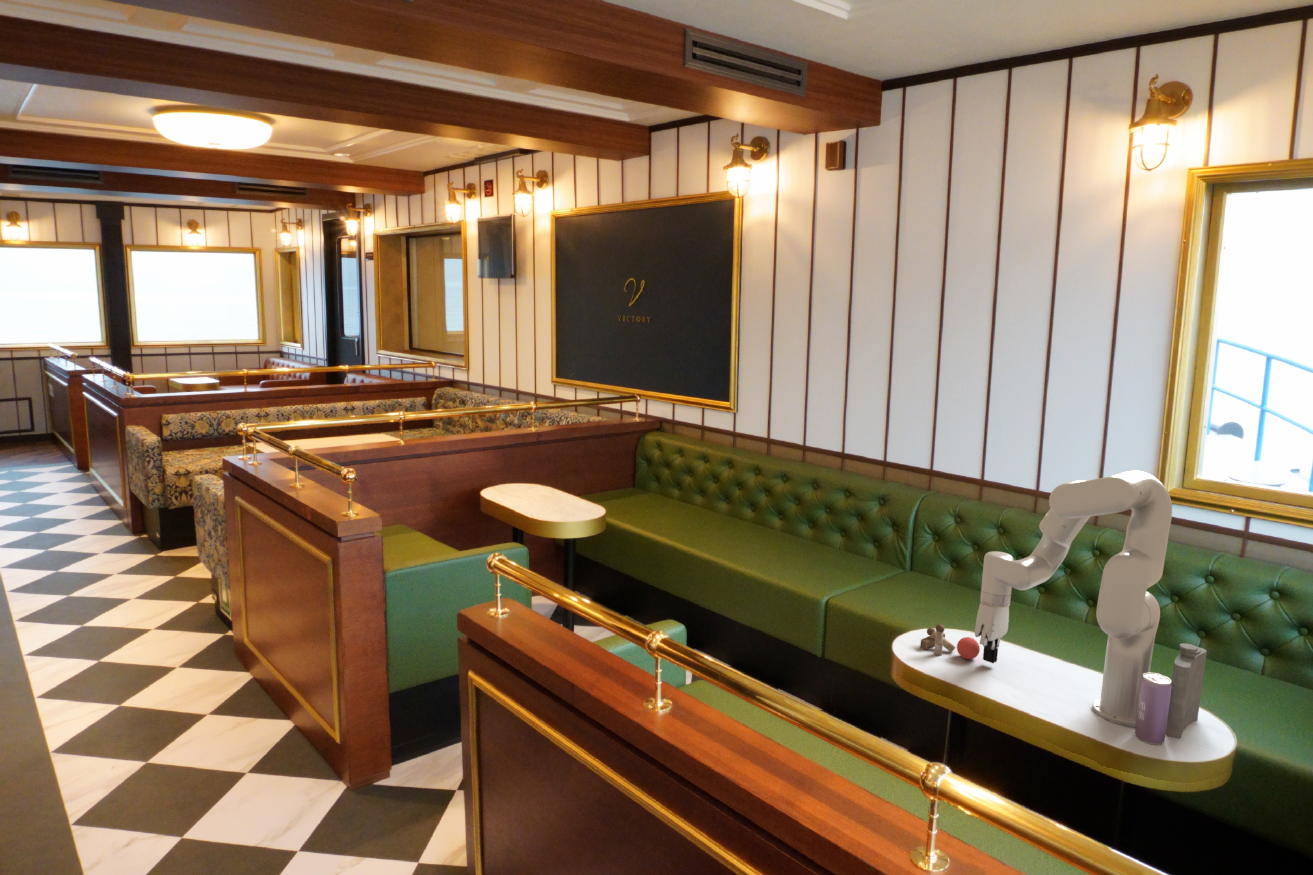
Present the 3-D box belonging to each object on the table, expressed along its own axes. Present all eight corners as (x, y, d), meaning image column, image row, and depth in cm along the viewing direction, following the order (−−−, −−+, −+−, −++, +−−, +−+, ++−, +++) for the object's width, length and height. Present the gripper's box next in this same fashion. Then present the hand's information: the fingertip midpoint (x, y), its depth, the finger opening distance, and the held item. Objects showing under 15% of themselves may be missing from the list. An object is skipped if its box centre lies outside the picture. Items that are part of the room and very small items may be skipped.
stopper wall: (944, 641, 240) (945, 633, 240) (926, 650, 234) (927, 641, 234) (938, 639, 242) (939, 631, 241) (920, 647, 236) (920, 639, 235)
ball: (971, 632, 232) (976, 653, 232) (951, 637, 232) (955, 657, 232) (980, 637, 226) (985, 658, 226) (959, 642, 226) (964, 663, 226)
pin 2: (956, 646, 233) (931, 625, 238) (954, 646, 231) (929, 625, 236) (951, 652, 234) (926, 632, 239) (949, 652, 232) (924, 631, 237)
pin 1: (942, 652, 232) (944, 623, 231) (942, 656, 230) (945, 626, 229) (933, 651, 233) (935, 622, 232) (933, 655, 231) (936, 625, 229)
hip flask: (1178, 739, 188) (1189, 658, 184) (1158, 732, 190) (1169, 652, 187) (1199, 717, 198) (1209, 639, 195) (1180, 711, 201) (1190, 634, 198)
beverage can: (1170, 746, 185) (1178, 684, 182) (1143, 745, 185) (1151, 683, 182) (1154, 732, 191) (1162, 672, 188) (1129, 731, 191) (1136, 671, 188)
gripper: (996, 587, 229) (990, 649, 232) (968, 599, 219) (962, 663, 222) (1022, 595, 223) (1016, 658, 226) (994, 607, 214) (988, 673, 217)
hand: (989, 660), depth 224 cm, fingers closed
